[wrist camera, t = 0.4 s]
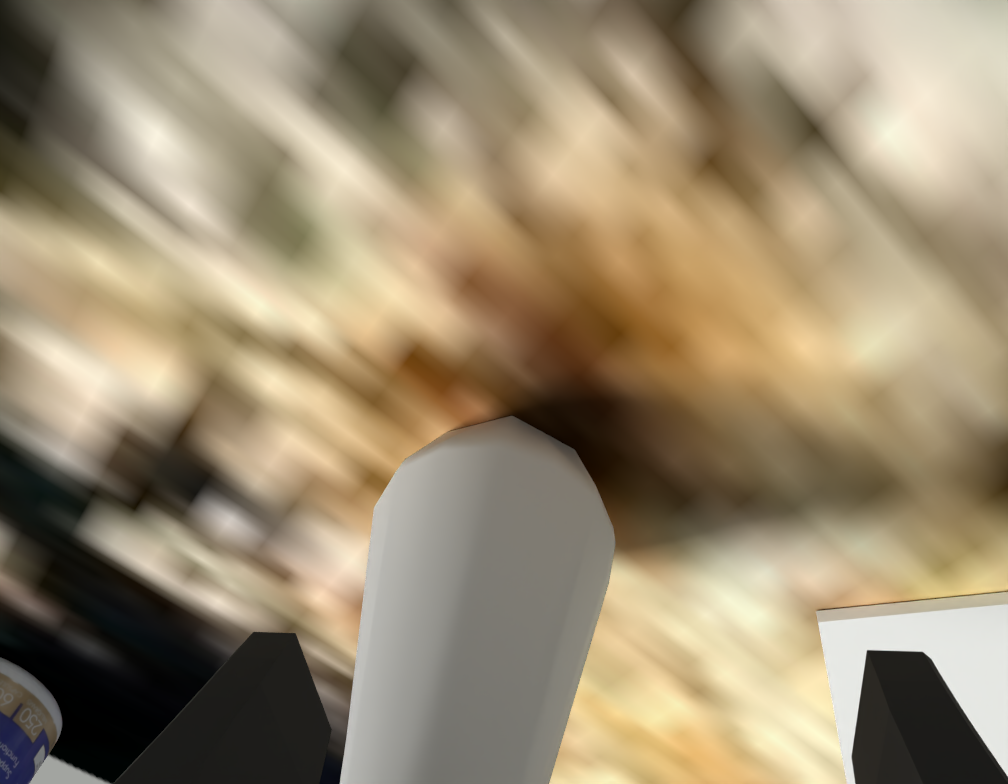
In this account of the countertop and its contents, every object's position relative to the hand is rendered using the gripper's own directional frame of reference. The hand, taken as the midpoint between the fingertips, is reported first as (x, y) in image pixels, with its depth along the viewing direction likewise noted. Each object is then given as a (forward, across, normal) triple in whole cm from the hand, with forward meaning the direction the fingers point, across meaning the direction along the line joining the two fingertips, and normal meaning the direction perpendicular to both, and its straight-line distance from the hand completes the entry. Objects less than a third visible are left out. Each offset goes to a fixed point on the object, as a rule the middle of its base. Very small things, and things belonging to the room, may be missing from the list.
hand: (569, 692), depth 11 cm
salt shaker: (+10, +3, +5) cm, 12 cm away
